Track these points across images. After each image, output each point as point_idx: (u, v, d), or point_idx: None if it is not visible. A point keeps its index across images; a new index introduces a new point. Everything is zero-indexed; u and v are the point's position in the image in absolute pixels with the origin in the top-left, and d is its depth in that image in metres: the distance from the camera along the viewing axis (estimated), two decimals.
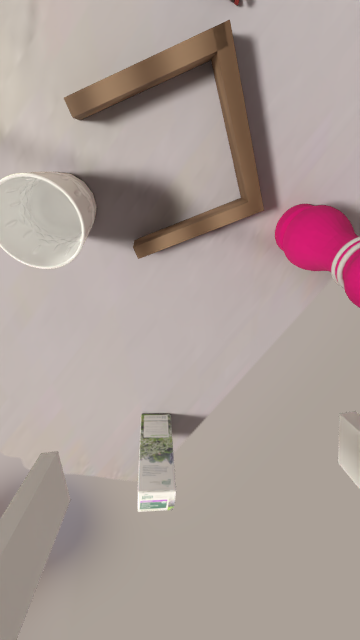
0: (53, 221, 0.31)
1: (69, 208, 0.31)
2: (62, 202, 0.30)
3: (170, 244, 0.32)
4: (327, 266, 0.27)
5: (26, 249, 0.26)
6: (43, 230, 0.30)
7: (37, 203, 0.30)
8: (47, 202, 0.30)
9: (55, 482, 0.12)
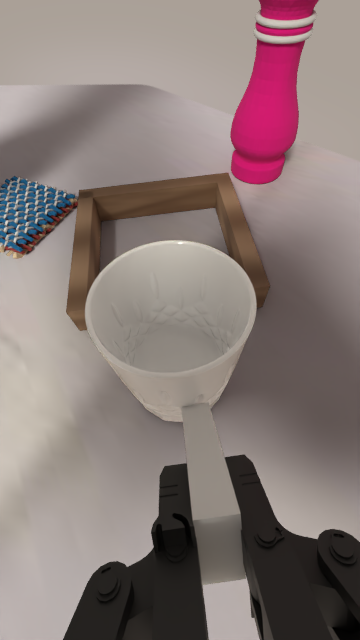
0: None
1: (181, 359, 0.20)
2: (171, 365, 0.20)
3: (253, 248, 0.24)
4: (287, 64, 0.24)
5: None
6: None
7: None
8: None
9: None
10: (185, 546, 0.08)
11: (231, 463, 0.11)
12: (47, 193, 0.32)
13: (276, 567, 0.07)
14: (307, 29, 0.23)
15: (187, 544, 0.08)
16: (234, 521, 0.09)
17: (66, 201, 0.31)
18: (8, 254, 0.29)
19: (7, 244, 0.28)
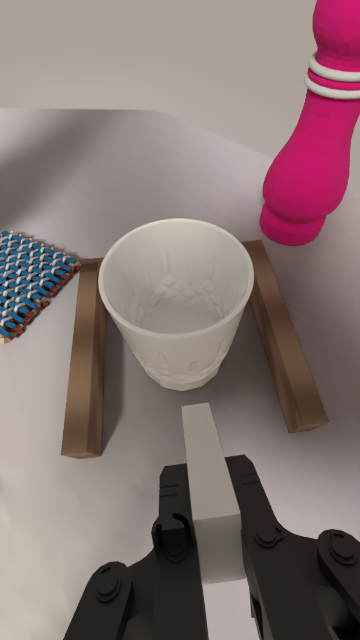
0: None
1: None
2: None
3: (301, 357, 0.19)
4: (345, 121, 0.19)
5: None
6: None
7: None
8: None
9: None
10: (185, 546, 0.08)
11: (231, 463, 0.11)
12: (43, 256, 0.27)
13: (276, 567, 0.07)
14: None
15: (187, 544, 0.08)
16: (234, 521, 0.09)
17: (66, 267, 0.26)
18: None
19: None
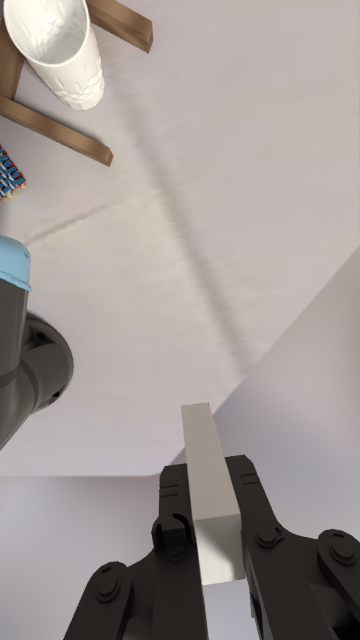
0: None
1: None
2: None
3: (117, 4, 0.32)
4: None
5: None
6: None
7: None
8: None
9: None
10: (185, 546, 0.08)
11: (231, 463, 0.11)
12: None
13: (276, 567, 0.07)
14: None
15: (187, 544, 0.08)
16: (234, 521, 0.09)
17: None
18: (18, 192, 0.38)
19: (13, 185, 0.37)
